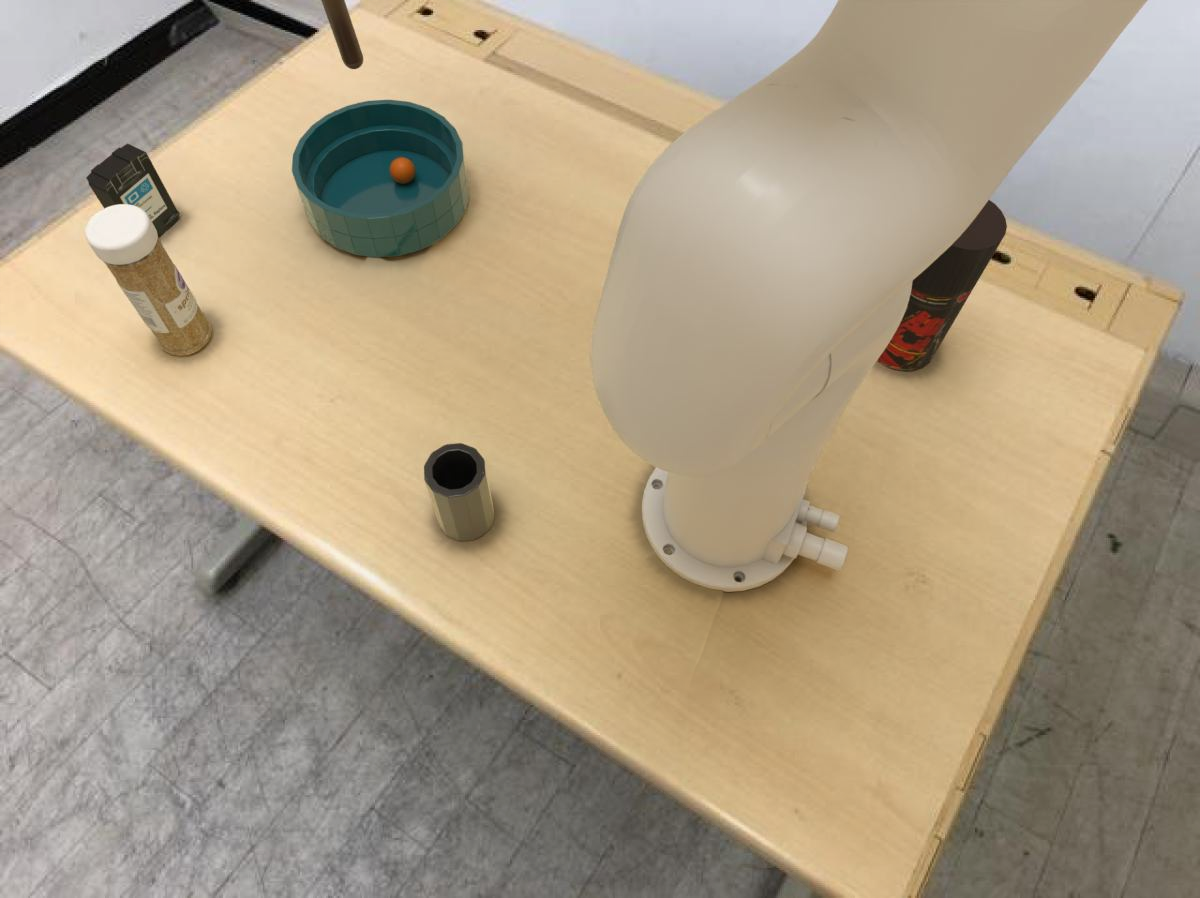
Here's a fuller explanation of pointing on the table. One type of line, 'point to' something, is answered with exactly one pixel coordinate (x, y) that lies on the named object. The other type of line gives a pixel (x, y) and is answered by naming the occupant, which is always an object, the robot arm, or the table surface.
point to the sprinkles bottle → (148, 277)
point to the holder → (459, 491)
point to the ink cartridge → (133, 186)
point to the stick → (344, 32)
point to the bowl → (381, 177)
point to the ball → (402, 170)
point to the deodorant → (944, 292)
